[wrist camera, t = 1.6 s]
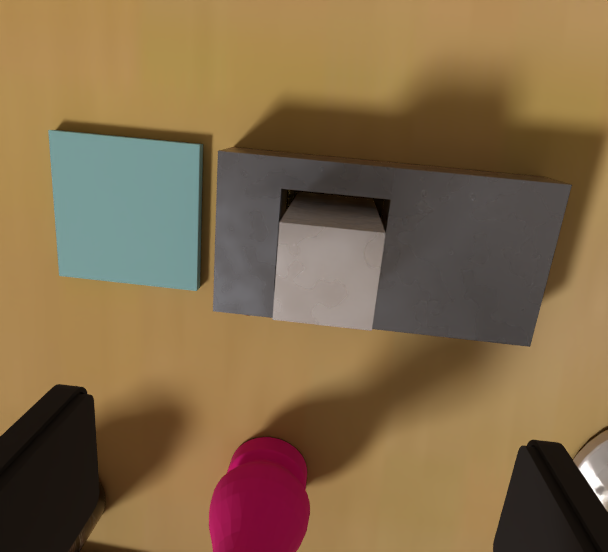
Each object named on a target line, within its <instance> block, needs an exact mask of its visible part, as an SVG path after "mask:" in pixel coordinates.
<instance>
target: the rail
mask: <svg viewBox="0 0 608 552" xmlns="http://www.w3.org/2000/svg"><path fill="white" fill-rule="evenodd" d="M571 186H572V185H570V184H567V183H563V182H560V181H557V180H553V179H550V178H546V177H541V176H530V175H520V174H509V173H499V172H489V171H478V170H468V169H457V168H447V167H436V166H426V165H416V164H405V163H395V162H384V161H374V160H363V159H353V158H342V157H332V156H322V155H311V154H301V153H290V152H280V151H269V150H259V149H248V148H238V147H231V148H227V149H223V150H220V151H218V169H217V202H216V234H215V266H214V299H213V311H217V312H226V313H235V314H244V315H253V316H262V317H270V318H273V306H274V292H275V278H276V265H277V251H278V237H279V223H280V221H281V219H282V218H283V216H284V214H285V213H286V207H287V194H288V189H290V190H300V191H310V192H320V193H330V194H340V195H350V196H360V197H370V198H380V199H384V203H383V210H382V217H381V222H382V225H383V227H384V230H385V233H386V234H385V241H384V248H383V255H382V262H381V269H380V276H379V283H378V290H377V297H376V304H375V311H374V318H373V325H372V329H377V330H386V331H395V332H404V333H413V334H422V335H431V336H440V337H449V338H458V339H467V340H476V341H484V342H493V343H502V344H511V345H520V346H529V347H530V345H531V341H532V337H533V333H534V329H535V325H536V322H537V318H538V314H539V310H540V306H541V302H542V298H543V294H544V291H545V287H546V283H547V279H548V275H549V271H550V267H551V263H552V260H553V256H554V252H555V248H556V244H557V240H558V236H559V232H560V229H561V225H562V221H563V217H564V213H565V209H566V205H567V202H568V198H569V194H570V190H571Z"/></svg>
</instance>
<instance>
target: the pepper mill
mask: <svg viewBox="0 0 608 552" xmlns="http://www.w3.org/2000/svg"><path fill="white" fill-rule="evenodd" d="M306 480H307V467H306V463H305V460H304V458H303V456H302V455H301V454H300V452H299V451H298V450H297V449H296V448H295V447H293V446H292V445H290V444H289V443H287V442H285V441H283V440H281V439H276V438H271V437H261V438H255V439H252V440H249V441H247V442H245V443H244V444H242V445H241V446H240V447H239V448H238V449H237V450H236V451H235V453H234V455H233V457H232V459H231V462H230V466H229V469H228V472H227V474H226V475H225V476H223V477H222V478H221V480H220V481H219V483H218V484H217V486H216V488H215V490H214V493H213V496H212V500H211V504H210V511H209V530H210V535H211V540H212V546H213V552H296V551H297V550H298V548H299V547H300V545H301V542H302V540H303V538H304V536H305V533H306V531H307V526H308V521H309V515H310V504H309V499H308V495H307V493H306V491H305V489H306Z"/></svg>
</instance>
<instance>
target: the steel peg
mask: <svg viewBox="0 0 608 552" xmlns="http://www.w3.org/2000/svg"><path fill="white" fill-rule="evenodd" d="M385 234H386V233H385V230H384V227H383V225H382V222H381V219H380V216H379V214H378V211H377V208H376V206H375V203H374V200H373V199H364V198H354V197H344V196H334V195H324V194H314V193H304V192H298V193H297V195H296V196H295V198H294V200H293V201H292V203H291V205H290V206H289V208H288V209H287V211H286V213H285V214H284V216H283V218H282V219H281V221H280V223H279V237H278V251H277V265H276V278H275V292H274V306H273V320H281V321H290V322H299V323H308V324H317V325H326V326H335V327H344V328H353V329H362V330H371V331H372V325H373V318H374V311H375V304H376V297H377V290H378V283H379V276H380V269H381V262H382V255H383V248H384V241H385Z"/></svg>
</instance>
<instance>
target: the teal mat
mask: <svg viewBox="0 0 608 552" xmlns="http://www.w3.org/2000/svg"><path fill="white" fill-rule="evenodd" d="M48 131H49V144H50V158H51V171H52V184H53V198H54V211H55V225H56V238H57V252H58V265H59V276H66V277H75V278H84V279H93V280H102V281H112V282H121V283H130V284H139V285H148V286H157V287H166V288H175V289H184V290H193V291H197V290H198V289H199V288H200V263H201V216H202V169H203V144H196V143H186V142H175V141H165V140H154V139H144V138H134V137H123V136H113V135H102V134H92V133H81V132H71V131H60V130H48Z"/></svg>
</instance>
